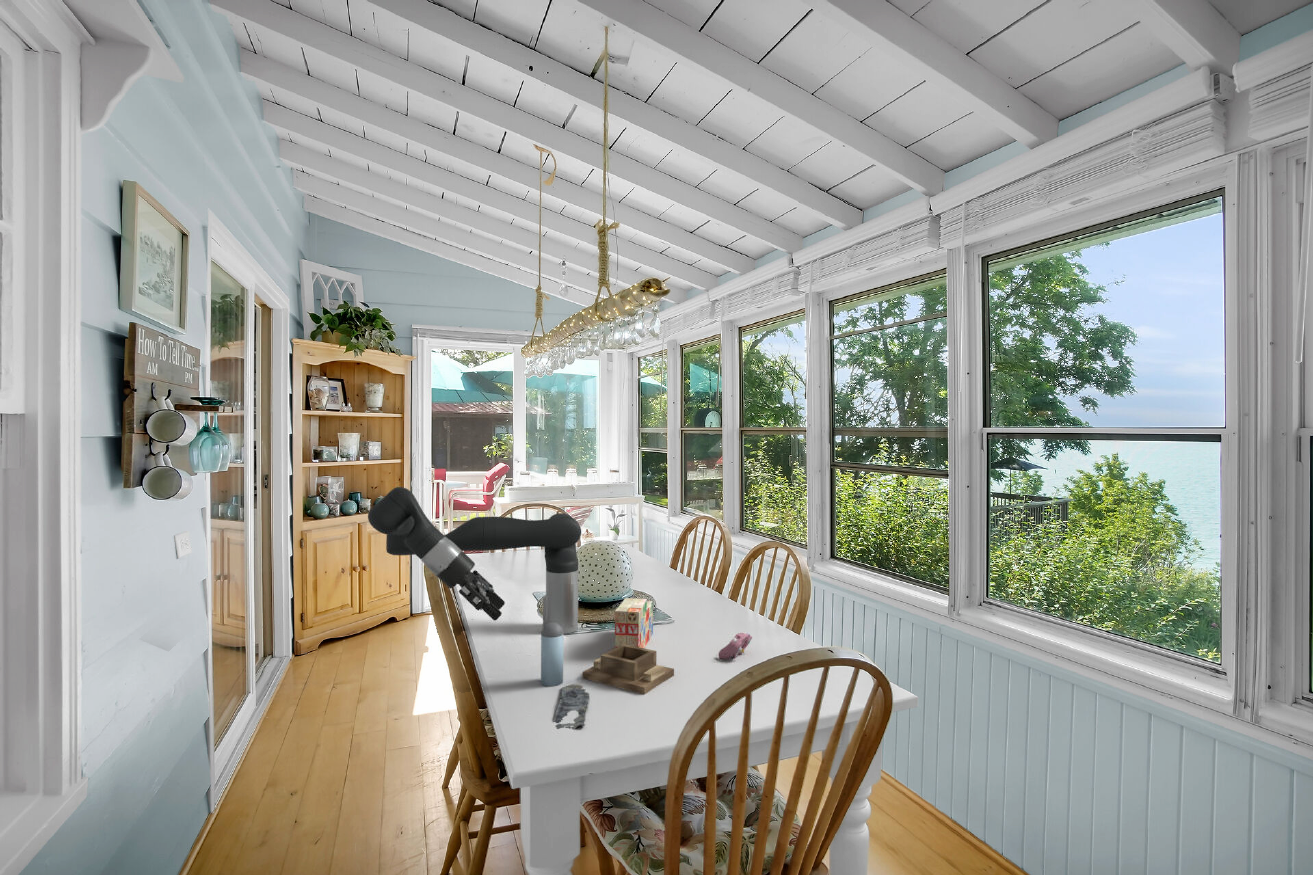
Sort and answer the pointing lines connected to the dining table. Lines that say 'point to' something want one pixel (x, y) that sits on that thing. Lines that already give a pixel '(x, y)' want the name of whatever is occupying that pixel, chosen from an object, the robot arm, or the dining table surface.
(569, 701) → the driftwood
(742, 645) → the video game controller
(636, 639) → the stack of blocks
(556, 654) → the ball on cylinder
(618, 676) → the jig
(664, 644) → the dining table surface
